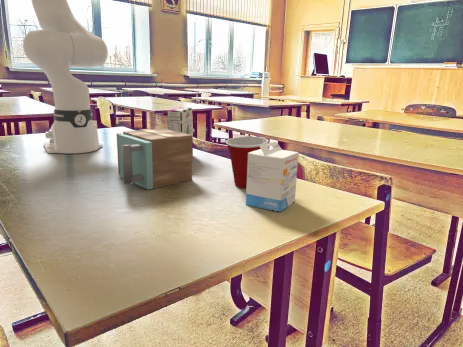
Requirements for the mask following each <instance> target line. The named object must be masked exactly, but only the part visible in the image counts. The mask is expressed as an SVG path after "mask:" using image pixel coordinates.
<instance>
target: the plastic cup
mask: <svg viewBox="0 0 463 347" xmlns="http://www.w3.org/2000/svg"><path fill="white" fill-rule="evenodd" d="M268 143H270V142H269V139H268V138H266V137H262V136H252V135H251V136H249V135H247V136H236V137H232V138H228V139H227V140H225V144H226V146H227V147H228V151H229V155H230V162H231V163H230V164H231V168H232V175H233V182H234V186H236V187H237V188H241V189H246V187H247V166H248V153H249V152H252V151H256V150H259V149H261V148H260V145H264V144H268Z"/></svg>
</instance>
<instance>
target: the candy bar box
mask: <svg viewBox="0 0 463 347" xmlns="http://www.w3.org/2000/svg"><path fill="white" fill-rule="evenodd" d="M166 113H167V114H166V115H167V130H172V131H176V132H180V133H185V134H189V135H192V156H194V148H193V146H194V143H193V141H194V139H193V136H194V135H193V134H194V133H193V131H194V130H193V107H185V106H184V107H183V106H181V107H176V108H172V109H169V110H167V111H166Z"/></svg>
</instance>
